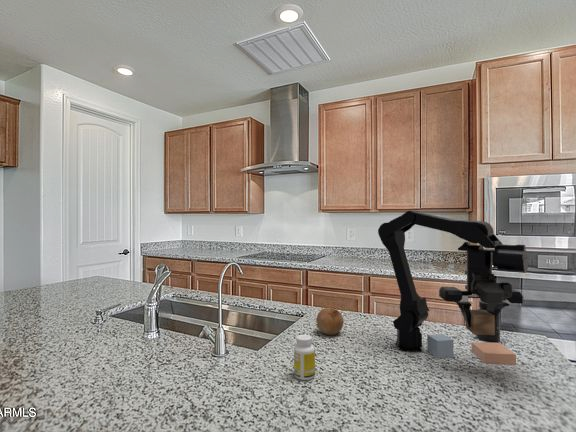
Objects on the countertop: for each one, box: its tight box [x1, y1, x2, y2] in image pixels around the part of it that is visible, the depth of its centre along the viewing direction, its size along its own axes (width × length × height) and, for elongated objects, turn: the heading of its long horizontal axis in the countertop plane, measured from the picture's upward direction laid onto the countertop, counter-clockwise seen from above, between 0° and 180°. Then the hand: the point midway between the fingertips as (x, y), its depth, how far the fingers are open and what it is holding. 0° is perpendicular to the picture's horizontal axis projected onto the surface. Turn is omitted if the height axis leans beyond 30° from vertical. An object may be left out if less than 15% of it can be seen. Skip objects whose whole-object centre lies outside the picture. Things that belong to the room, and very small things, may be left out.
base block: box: [470, 341, 517, 365], centre depth 91 cm, size 8×8×3 cm
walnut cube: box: [465, 309, 495, 335], centre depth 84 cm, size 5×5×5 cm
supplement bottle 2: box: [475, 300, 501, 343], centre depth 105 cm, size 7×7×12 cm
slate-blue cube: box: [426, 333, 454, 359], centre depth 94 cm, size 5×5×5 cm
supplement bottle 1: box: [293, 334, 316, 381], centre depth 81 cm, size 5×5×10 cm
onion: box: [315, 307, 345, 336], centre depth 111 cm, size 10×9×10 cm
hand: (479, 327), depth 84 cm, fingers closed on walnut cube, 5 cm apart
